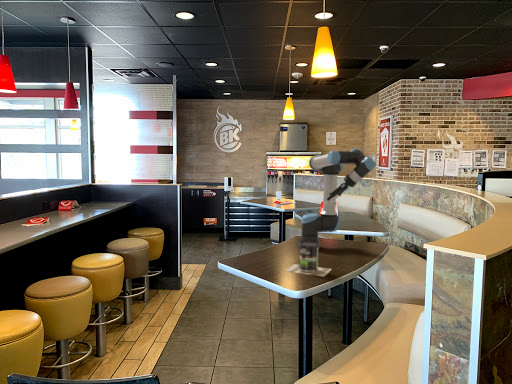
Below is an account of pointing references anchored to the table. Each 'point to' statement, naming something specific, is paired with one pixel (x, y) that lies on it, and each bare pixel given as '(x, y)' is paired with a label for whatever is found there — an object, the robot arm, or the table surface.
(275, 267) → the table surface
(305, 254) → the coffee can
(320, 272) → the birch board
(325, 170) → the robot arm
